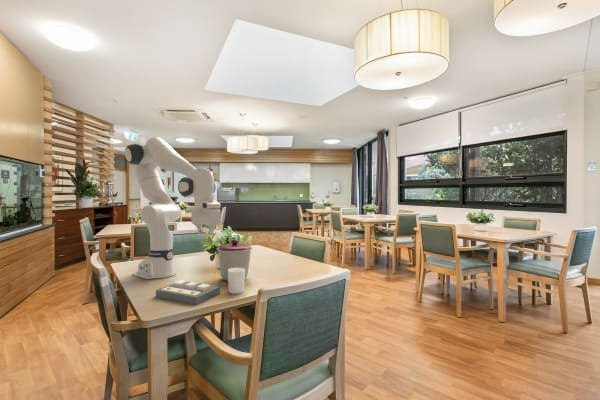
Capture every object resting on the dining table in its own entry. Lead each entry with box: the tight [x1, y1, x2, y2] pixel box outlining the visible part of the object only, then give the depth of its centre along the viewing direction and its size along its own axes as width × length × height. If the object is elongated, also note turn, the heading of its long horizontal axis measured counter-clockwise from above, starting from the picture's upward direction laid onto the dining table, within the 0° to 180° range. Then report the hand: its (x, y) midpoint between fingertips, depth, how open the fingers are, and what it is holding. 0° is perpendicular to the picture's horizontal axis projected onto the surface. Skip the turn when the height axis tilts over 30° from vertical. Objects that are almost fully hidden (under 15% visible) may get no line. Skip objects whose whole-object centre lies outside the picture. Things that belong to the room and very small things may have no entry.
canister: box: [216, 238, 253, 282], centre depth 154 cm, size 18×18×21 cm
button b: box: [197, 283, 211, 291], centre depth 128 cm, size 4×4×2 cm
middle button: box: [185, 281, 200, 289], centre depth 130 cm, size 4×4×2 cm
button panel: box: [155, 281, 221, 306], centre depth 128 cm, size 22×15×3 cm
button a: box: [173, 279, 188, 287], centre depth 133 cm, size 4×4×2 cm
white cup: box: [227, 268, 246, 295], centre depth 135 cm, size 8×8×10 cm
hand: (205, 234), depth 133 cm, fingers open, 8 cm apart
